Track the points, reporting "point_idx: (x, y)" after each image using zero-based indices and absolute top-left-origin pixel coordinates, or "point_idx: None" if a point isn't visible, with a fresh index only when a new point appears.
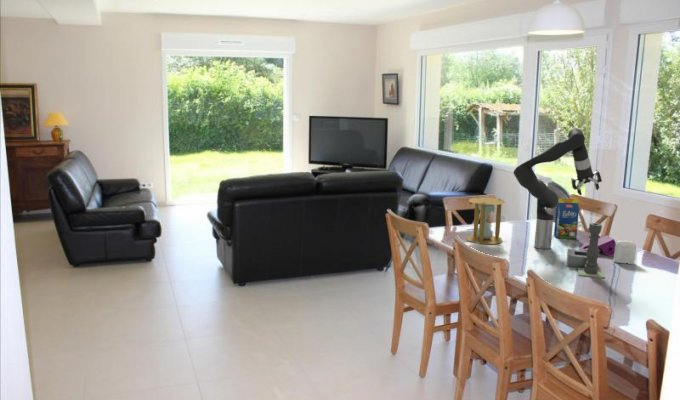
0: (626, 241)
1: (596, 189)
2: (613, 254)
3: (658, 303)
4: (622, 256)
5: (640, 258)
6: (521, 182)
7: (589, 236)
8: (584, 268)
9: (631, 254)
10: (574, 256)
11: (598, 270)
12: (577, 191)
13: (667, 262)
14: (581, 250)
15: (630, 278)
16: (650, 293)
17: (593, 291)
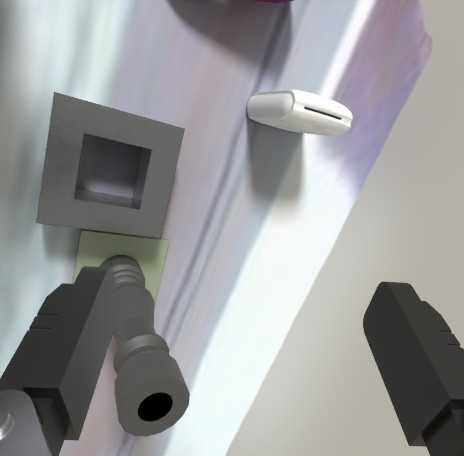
0: (325, 122)
1: (371, 306)
2: (282, 1)
3: (218, 442)
4: (279, 126)
5: (351, 45)
6: None
7: (114, 367)
8: (106, 234)
9: (309, 133)
10: (66, 226)
11: (153, 245)
12: (32, 327)
13: (399, 90)
14: (124, 113)
15: (228, 285)
16: (229, 386)
17: (83, 436)
